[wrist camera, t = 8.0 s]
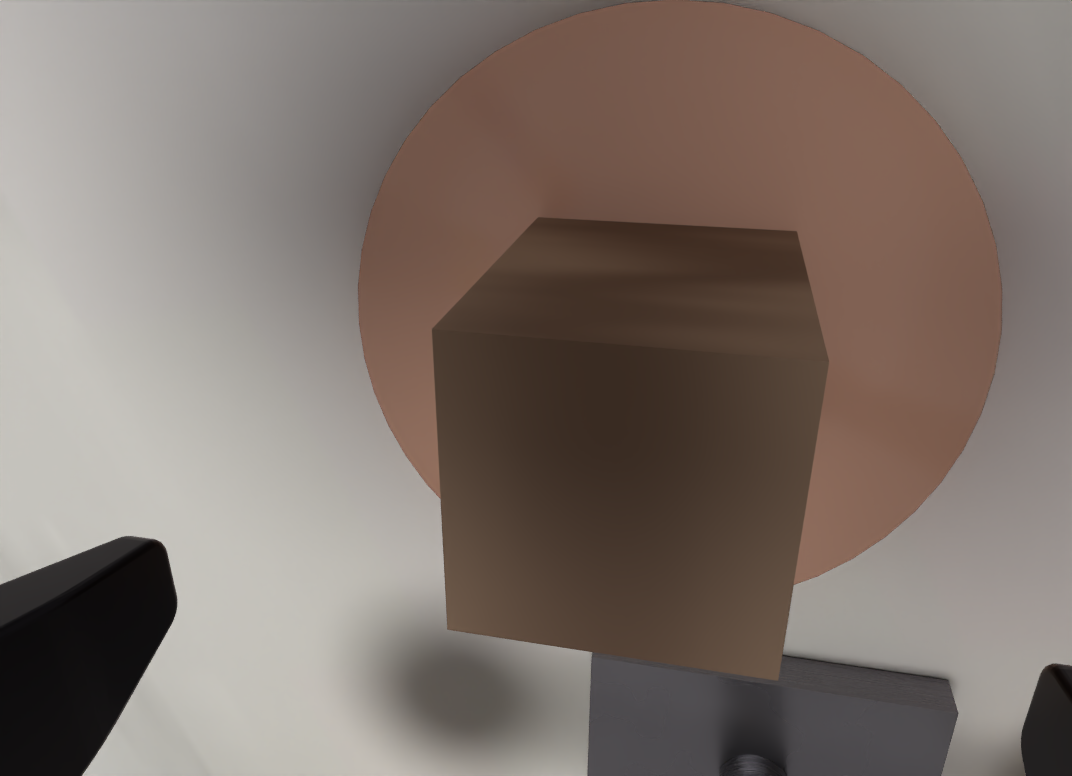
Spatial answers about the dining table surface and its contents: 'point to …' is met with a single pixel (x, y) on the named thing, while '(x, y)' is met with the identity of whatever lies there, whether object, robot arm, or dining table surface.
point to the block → (631, 441)
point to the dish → (712, 224)
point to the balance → (765, 721)
